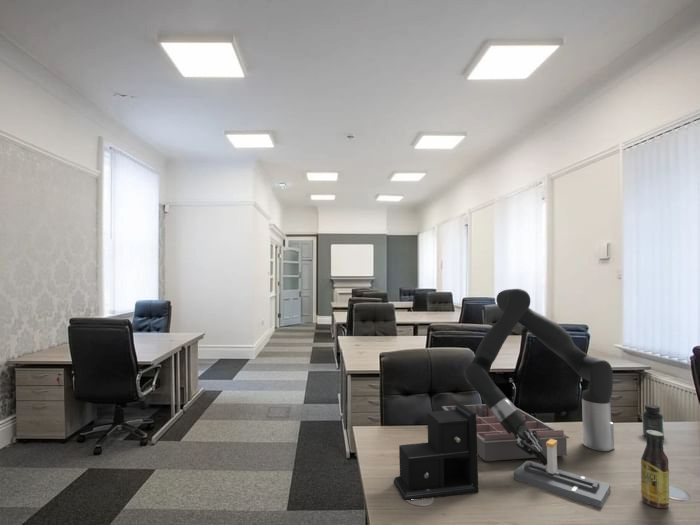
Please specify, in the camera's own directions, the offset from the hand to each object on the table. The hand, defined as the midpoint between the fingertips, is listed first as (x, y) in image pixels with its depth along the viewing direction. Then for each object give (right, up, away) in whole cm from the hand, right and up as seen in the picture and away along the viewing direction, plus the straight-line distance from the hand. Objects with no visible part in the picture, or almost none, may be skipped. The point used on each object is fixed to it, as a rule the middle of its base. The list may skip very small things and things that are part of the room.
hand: (547, 463), depth 125 cm
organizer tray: (-3, -7, +32) cm, 33 cm away
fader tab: (+1, -3, -1) cm, 3 cm away
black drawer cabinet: (-36, -5, -4) cm, 37 cm away
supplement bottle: (+61, -7, +36) cm, 71 cm away
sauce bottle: (+24, -5, -13) cm, 28 cm away
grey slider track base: (+3, -5, -3) cm, 6 cm away
